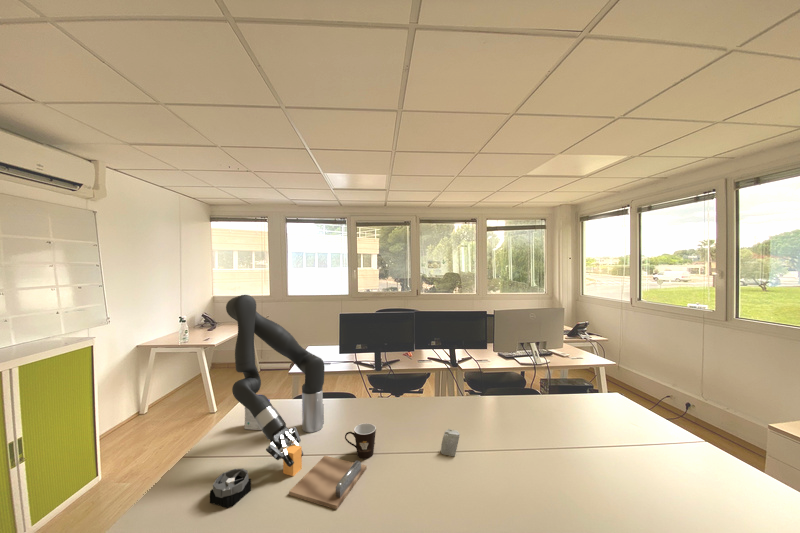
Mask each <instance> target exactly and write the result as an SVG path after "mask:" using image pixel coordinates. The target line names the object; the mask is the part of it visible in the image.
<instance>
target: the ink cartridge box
mask: <svg viewBox="0 0 800 533" xmlns="http://www.w3.org/2000/svg"><path fill="white" fill-rule="evenodd" d="M268 400H269V401H270V402H271V399H268ZM244 430H254V431H255V430H256V431H257V430H258V431H262V430H261V429H260V427H259V425H258V424H257V422H256V420H255V418H254V417H253V415H252V414H251V412H250V410H249V409H247V408H246V407H245V406H244Z"/></svg>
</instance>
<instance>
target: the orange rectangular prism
mask: <svg viewBox="0 0 800 533" xmlns="http://www.w3.org/2000/svg"><path fill="white" fill-rule="evenodd" d="M286 450H287V453H288V454H289V456H290V457H291V458H292V460H293V461H294V464H293V465H292V466H291V467H289V466H287V464H286V463H285V461H284V460H283V459H282V461H283V462H282V466H283V467H282V470H283V471H282V473H283V474H284V475H287V476H291V477H295V476H296V475H297V474H298V473H299V472H300V471H301V470H302V468H303V460H302V459H303V456H302V451H303V450H302V446H300V445H299V446H297V445H294V444H293V445H290V446H287V447H286ZM288 454H287V455H288Z"/></svg>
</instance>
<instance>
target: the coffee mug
mask: <svg viewBox="0 0 800 533" xmlns="http://www.w3.org/2000/svg"><path fill="white" fill-rule="evenodd" d="M353 431H354V432H352V431H348V432H346V433H345V434H344V435H345V436H344V439H345V441H346V442H347V443H348V444H349V445H350V446H353V447H355V449H356V455H357V457H358V458H359V459H361V460H366V459H370V458H372V457H373V456H374V453H375V452H374V451H375V443H376V442H375V441H376V433H377V432H376V431H377V427H376V425H374V424H373V423H369V422H365V423H364V422H362V423H359V424H358V425H356V426H355V427H354V429H353ZM349 434H351V435H353V437H354V440H355V444H354V443H353V442H351V441H350V440H348V439H347V436H348V435H349Z"/></svg>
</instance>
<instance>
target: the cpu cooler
mask: <svg viewBox="0 0 800 533" xmlns="http://www.w3.org/2000/svg"><path fill="white" fill-rule="evenodd" d="M251 480H252V479H251V478H250V477H249V471H248V470H246V469H244V468H234V469H230V470H228V471H225V472H222V473H221V474H220V475H219V476H218V477H217V478H215V480H214V481H213V484H212V489H211V490H210V491H209V504H212V505H216V506H220V507H223V508H225V509H226V508H227V509H230V507H234V506H235V505H236V504H237V503H238V502H239V501H241V500H242V499H243V498H244V497H245V496H246V495H247V494H249V493H250V492H251V490H252V481H251Z"/></svg>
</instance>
